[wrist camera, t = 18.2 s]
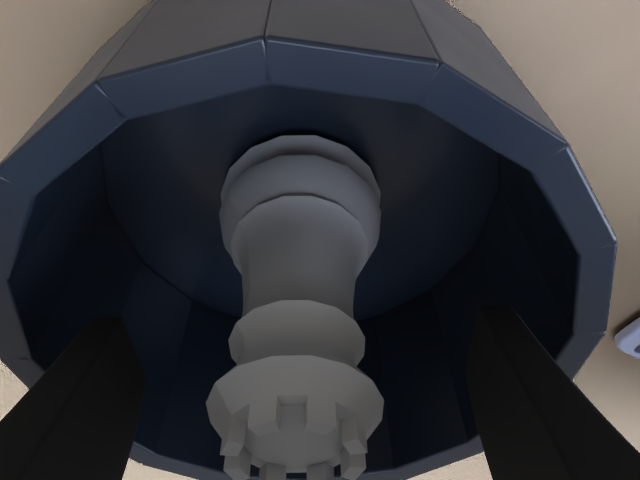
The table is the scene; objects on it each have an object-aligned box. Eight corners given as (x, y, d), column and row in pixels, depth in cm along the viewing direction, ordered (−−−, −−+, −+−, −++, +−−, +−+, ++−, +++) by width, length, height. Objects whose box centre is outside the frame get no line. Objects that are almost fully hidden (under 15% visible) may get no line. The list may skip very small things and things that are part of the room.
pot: (616, 117, 15) (760, 265, 10) (361, 368, 21) (375, 527, 16) (183, -183, 10) (78, -173, 6) (35, 245, 17) (-69, 410, 12)
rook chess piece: (195, 214, 16) (120, 482, 10) (273, 93, 13) (240, 342, 7) (323, 276, 17) (329, 539, 11) (411, 176, 15) (482, 439, 9)
